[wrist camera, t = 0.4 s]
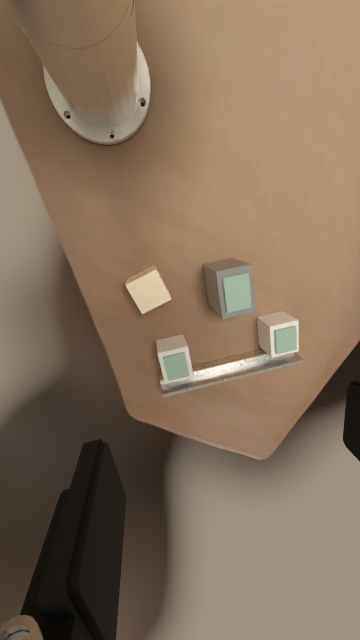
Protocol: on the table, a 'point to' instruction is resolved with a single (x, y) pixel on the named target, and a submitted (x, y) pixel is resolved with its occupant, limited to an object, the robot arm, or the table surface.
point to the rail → (229, 370)
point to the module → (229, 287)
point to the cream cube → (148, 289)
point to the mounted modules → (272, 335)
